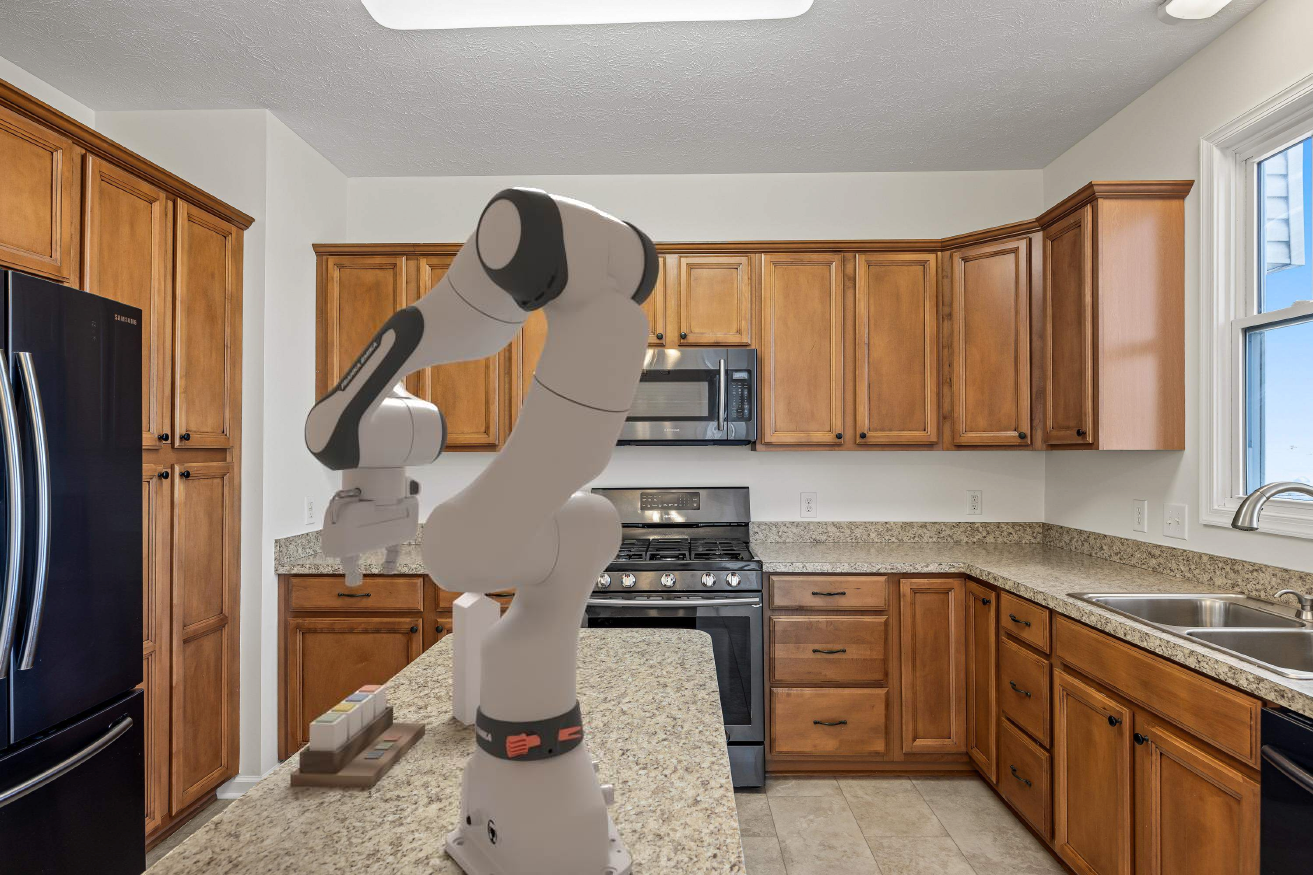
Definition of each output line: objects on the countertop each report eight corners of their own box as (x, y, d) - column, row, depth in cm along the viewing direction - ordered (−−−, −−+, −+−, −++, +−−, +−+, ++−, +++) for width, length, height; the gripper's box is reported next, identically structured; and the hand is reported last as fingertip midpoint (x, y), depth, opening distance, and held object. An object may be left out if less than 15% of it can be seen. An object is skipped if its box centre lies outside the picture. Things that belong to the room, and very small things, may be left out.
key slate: (362, 729, 100) (362, 700, 100) (339, 729, 100) (340, 700, 100) (373, 720, 104) (373, 692, 104) (351, 720, 104) (351, 692, 104)
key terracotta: (375, 718, 104) (375, 691, 104) (353, 718, 104) (353, 691, 105) (385, 710, 108) (385, 684, 108) (364, 710, 108) (364, 683, 108)
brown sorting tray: (372, 787, 91) (372, 754, 91) (290, 785, 91) (290, 753, 91) (425, 732, 109) (425, 705, 109) (356, 731, 109) (356, 704, 109)
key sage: (334, 753, 92) (334, 721, 92) (309, 752, 92) (309, 721, 93) (346, 742, 96) (347, 712, 96) (323, 742, 96) (323, 712, 96)
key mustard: (349, 740, 96) (349, 710, 96) (325, 740, 96) (325, 710, 97) (361, 731, 100) (361, 702, 100) (338, 730, 100) (338, 701, 100)
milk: (465, 726, 111) (465, 588, 112) (451, 715, 116) (451, 583, 116) (501, 717, 115) (500, 583, 115) (486, 707, 120) (485, 578, 120)
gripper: (352, 491, 93) (350, 594, 93) (426, 483, 113) (425, 568, 113) (309, 490, 94) (308, 592, 94) (390, 482, 114) (389, 566, 114)
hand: (372, 579), depth 104 cm, fingers open, 8 cm apart
